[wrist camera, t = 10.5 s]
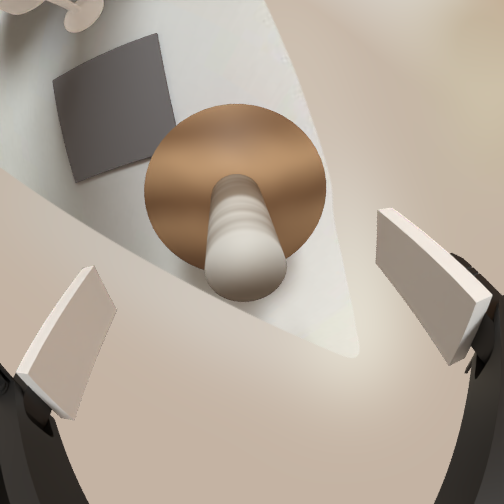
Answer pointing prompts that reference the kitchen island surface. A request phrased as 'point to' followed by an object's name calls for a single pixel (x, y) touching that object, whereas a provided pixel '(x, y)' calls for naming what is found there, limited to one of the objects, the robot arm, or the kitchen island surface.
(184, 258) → the lid
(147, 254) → the kitchen island surface
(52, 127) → the kitchen island surface
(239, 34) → the kitchen island surface
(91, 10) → the champagne flute
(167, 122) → the mat
